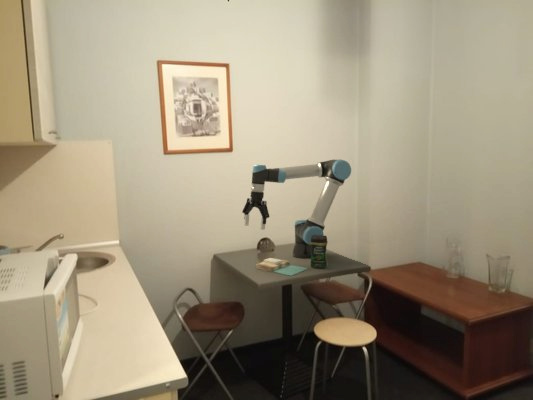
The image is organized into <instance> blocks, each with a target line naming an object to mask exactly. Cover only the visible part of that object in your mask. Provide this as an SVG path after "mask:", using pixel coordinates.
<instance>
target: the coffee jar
mask: <svg viewBox="0 0 533 400" xmlns="http://www.w3.org/2000/svg"><path fill="white" fill-rule="evenodd" d="M327 236H328V235H324V236H323V235H312V237H311V242H310V243H311V246H312V254H311V258H310V267H311V268H313V269H326V268H328V253H327V246H328V237H327Z"/></svg>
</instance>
